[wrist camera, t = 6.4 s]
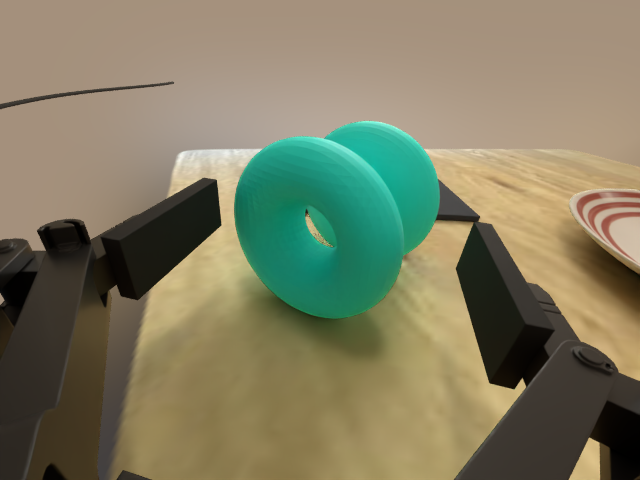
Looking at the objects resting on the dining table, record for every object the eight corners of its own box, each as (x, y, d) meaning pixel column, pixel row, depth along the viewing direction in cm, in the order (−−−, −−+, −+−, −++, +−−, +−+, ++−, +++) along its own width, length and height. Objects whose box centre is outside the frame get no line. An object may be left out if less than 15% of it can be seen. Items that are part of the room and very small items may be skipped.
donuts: (422, 269, 23) (465, 133, 18) (368, 361, 15) (416, 172, 10) (313, 227, 27) (322, 108, 22) (229, 284, 20) (214, 123, 14)
